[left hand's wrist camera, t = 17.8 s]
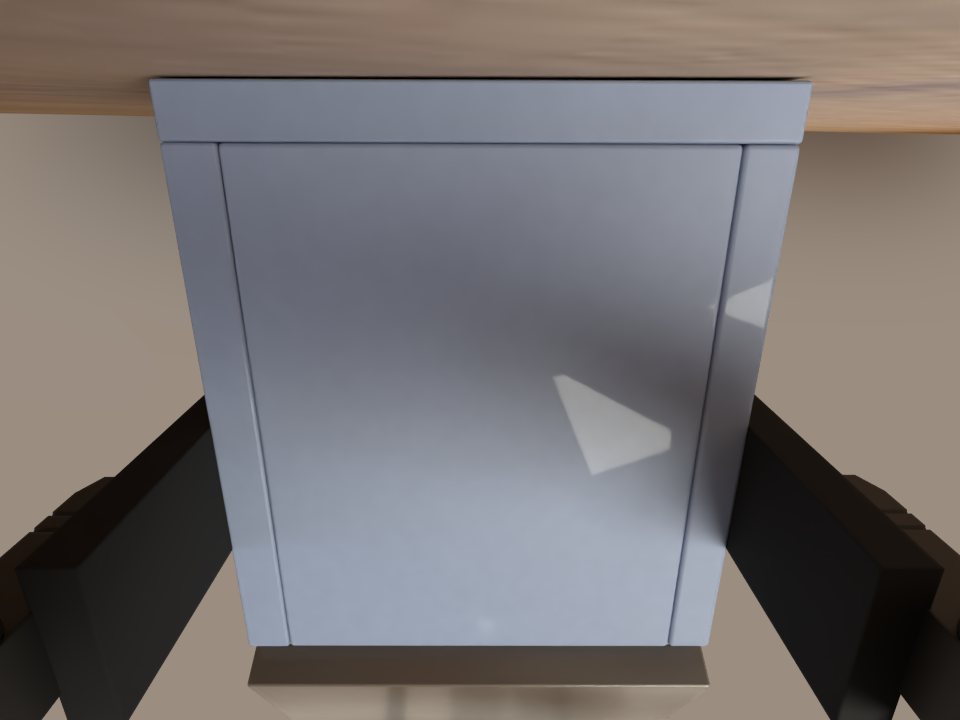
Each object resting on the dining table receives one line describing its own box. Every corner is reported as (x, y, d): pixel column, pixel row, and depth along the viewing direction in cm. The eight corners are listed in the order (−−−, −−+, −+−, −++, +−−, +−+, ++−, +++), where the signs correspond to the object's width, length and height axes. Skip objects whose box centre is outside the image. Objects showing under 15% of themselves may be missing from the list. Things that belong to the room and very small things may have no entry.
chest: (607, 120, 22) (588, 384, 26) (351, 119, 22) (369, 383, 26) (815, 80, 8) (709, 648, 12) (146, 78, 8) (248, 647, 12)
